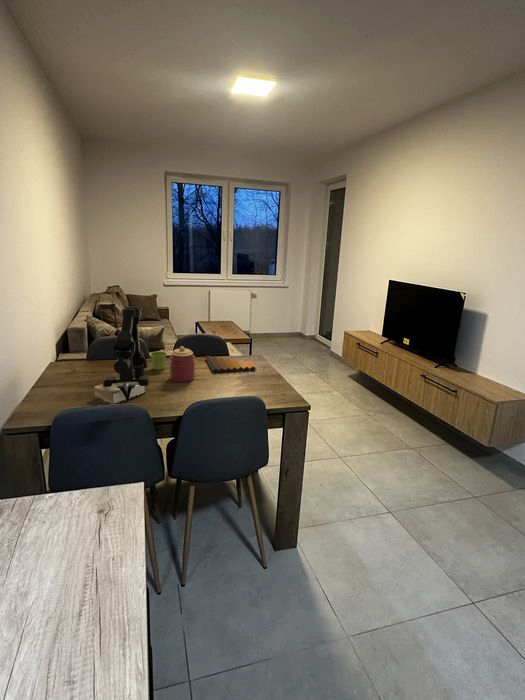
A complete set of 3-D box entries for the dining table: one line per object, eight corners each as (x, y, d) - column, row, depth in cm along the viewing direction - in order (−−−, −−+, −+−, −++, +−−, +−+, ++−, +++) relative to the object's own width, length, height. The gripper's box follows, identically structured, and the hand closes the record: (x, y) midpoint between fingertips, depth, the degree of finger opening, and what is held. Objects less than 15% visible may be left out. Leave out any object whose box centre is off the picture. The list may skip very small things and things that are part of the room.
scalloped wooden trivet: (205, 360, 243) (212, 374, 220) (205, 355, 242) (212, 368, 219) (244, 358, 250) (255, 371, 227) (245, 353, 249) (256, 365, 226)
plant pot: (149, 366, 226) (148, 352, 224) (165, 365, 230) (165, 350, 228) (151, 372, 218) (151, 356, 216) (169, 370, 222) (168, 355, 220)
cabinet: (126, 386, 197) (125, 375, 195) (143, 392, 191) (143, 381, 189) (95, 398, 182) (94, 386, 180) (112, 404, 176) (111, 392, 174)
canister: (164, 379, 208) (163, 347, 203) (180, 372, 219) (180, 341, 214) (184, 384, 202) (184, 351, 197) (200, 377, 213) (199, 345, 208)
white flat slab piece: (144, 392, 191) (143, 381, 189) (145, 392, 190) (145, 382, 189) (113, 404, 176) (112, 393, 175) (115, 404, 176) (114, 393, 174)
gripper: (150, 360, 182) (151, 392, 187) (107, 360, 180) (109, 393, 184) (147, 368, 172) (148, 401, 176) (101, 368, 169) (104, 402, 173)
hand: (127, 399), depth 178 cm, fingers closed
